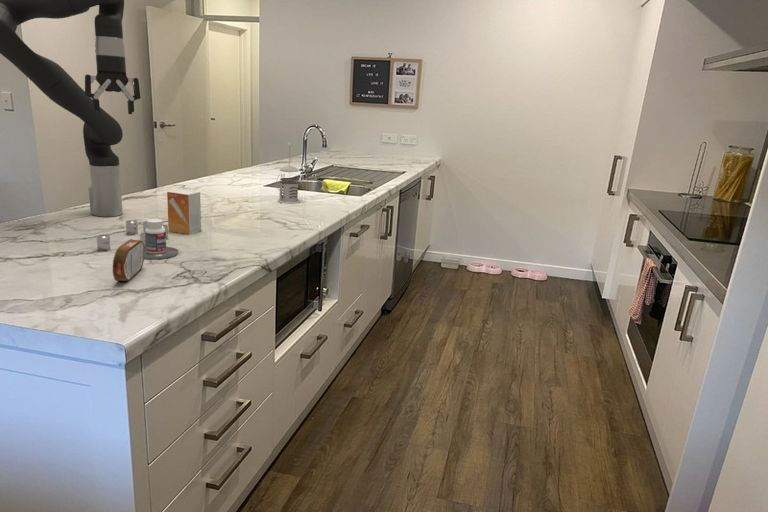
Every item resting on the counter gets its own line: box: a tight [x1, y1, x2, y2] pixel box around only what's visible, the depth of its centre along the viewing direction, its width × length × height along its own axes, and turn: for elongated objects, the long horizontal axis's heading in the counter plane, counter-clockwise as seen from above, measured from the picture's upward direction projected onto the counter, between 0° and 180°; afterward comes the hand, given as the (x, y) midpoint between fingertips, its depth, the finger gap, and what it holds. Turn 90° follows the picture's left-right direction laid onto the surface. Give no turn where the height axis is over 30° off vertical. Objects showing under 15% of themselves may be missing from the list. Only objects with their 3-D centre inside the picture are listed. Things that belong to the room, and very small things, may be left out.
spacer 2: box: [139, 232, 146, 248], centre depth 159 cm, size 3×3×4 cm
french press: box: [276, 142, 301, 205], centre depth 233 cm, size 10×12×25 cm
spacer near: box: [96, 234, 111, 252], centre depth 154 cm, size 3×3×4 cm
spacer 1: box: [125, 219, 139, 236], centre depth 172 cm, size 3×3×4 cm
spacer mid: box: [142, 221, 148, 233], centre depth 171 cm, size 3×3×4 cm
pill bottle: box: [145, 218, 167, 254], centre depth 153 cm, size 5×5×9 cm
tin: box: [112, 238, 145, 282], centre depth 135 cm, size 15×3×8 cm, turn 5°
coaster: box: [144, 246, 179, 260], centre depth 154 cm, size 11×11×1 cm
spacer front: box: [162, 224, 169, 240], centre depth 169 cm, size 3×3×4 cm
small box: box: [166, 188, 202, 235], centre depth 178 cm, size 8×6×13 cm
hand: (114, 113), depth 162 cm, fingers open, 8 cm apart
